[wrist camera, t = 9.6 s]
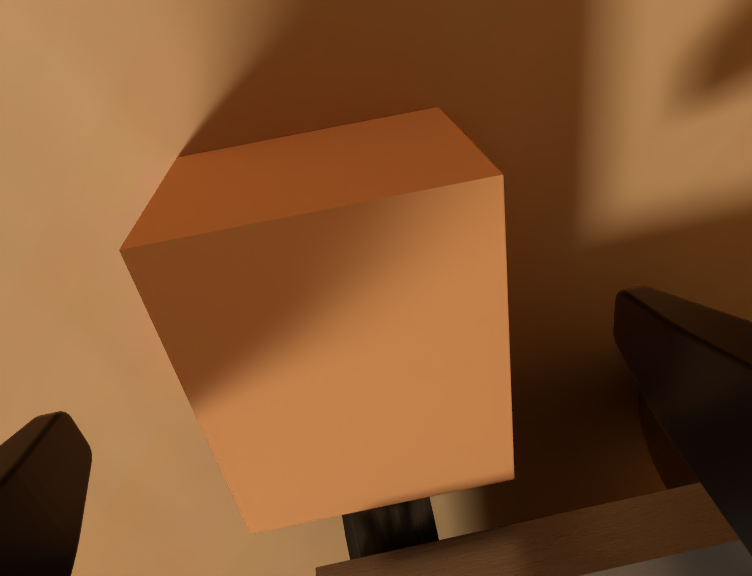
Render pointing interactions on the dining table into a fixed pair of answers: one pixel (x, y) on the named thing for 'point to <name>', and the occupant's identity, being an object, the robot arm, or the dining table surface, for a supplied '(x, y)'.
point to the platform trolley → (561, 534)
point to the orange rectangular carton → (337, 314)
